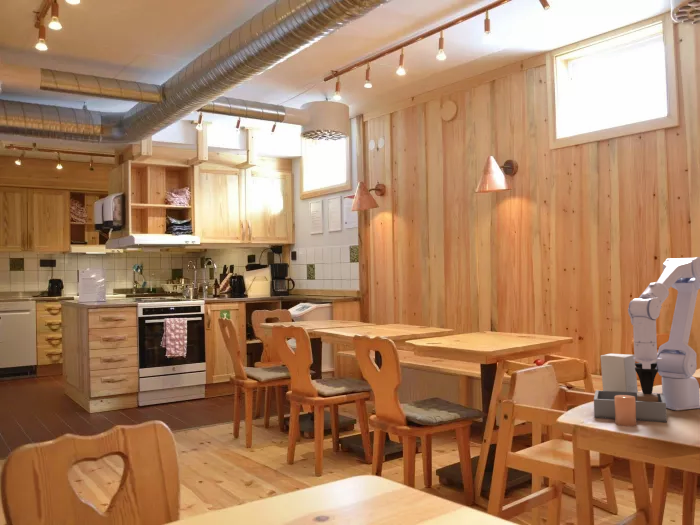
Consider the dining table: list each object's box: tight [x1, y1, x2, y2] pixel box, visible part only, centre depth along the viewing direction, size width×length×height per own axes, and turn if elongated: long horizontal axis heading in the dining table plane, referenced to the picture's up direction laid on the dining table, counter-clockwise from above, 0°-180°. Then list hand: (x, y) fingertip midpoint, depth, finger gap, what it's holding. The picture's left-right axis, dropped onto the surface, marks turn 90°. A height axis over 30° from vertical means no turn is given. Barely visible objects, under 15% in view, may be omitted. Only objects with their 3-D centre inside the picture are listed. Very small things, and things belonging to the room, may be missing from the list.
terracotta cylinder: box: [614, 395, 637, 427], centre depth 163 cm, size 5×5×7 cm
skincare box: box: [600, 353, 639, 392], centre depth 186 cm, size 8×6×15 cm
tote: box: [593, 389, 667, 423], centre depth 172 cm, size 18×14×5 cm
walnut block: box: [637, 392, 658, 402], centre depth 171 cm, size 5×5×5 cm
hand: (646, 391), depth 171 cm, fingers open, 7 cm apart
